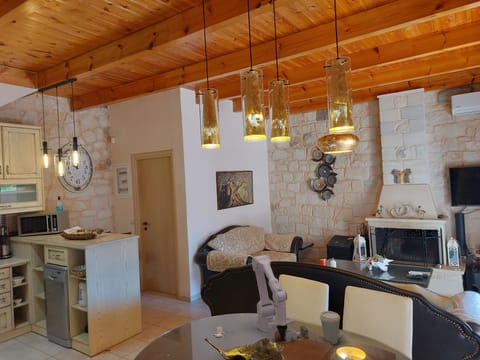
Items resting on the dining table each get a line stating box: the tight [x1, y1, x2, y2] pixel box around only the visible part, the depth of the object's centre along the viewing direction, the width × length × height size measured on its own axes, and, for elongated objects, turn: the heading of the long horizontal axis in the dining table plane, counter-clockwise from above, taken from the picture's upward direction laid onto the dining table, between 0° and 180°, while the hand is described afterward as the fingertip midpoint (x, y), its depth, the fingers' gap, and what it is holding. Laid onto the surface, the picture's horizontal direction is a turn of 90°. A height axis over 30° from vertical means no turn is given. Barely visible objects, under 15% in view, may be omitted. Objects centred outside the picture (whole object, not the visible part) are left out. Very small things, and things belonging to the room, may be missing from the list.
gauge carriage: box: [283, 328, 302, 342], centre depth 183 cm, size 9×7×4 cm
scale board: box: [274, 325, 309, 344], centre depth 184 cm, size 18×12×6 cm, turn 104°
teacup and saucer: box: [215, 326, 223, 338], centre depth 198 cm, size 9×8×4 cm
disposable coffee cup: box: [319, 310, 341, 345], centre depth 181 cm, size 11×11×15 cm
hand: (282, 338), depth 183 cm, fingers closed
